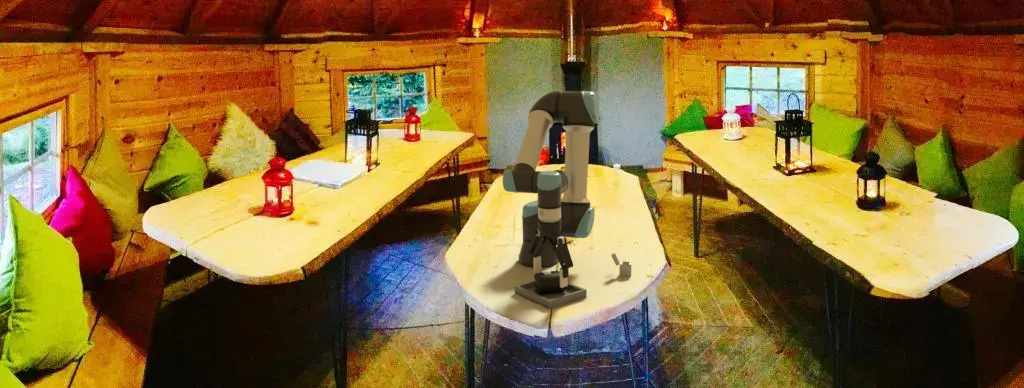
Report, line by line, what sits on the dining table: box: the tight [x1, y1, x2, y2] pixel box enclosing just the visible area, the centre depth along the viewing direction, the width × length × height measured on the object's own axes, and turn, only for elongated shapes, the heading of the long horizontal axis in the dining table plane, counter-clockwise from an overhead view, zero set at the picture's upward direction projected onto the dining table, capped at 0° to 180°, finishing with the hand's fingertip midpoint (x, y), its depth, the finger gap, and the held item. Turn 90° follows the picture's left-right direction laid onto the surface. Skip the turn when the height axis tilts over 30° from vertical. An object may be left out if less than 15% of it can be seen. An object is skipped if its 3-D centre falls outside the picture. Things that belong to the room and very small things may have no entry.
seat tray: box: [514, 279, 588, 310], centre depth 236 cm, size 18×16×3 cm
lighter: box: [610, 252, 632, 277], centre depth 253 cm, size 7×2×8 cm, turn 83°
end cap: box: [533, 270, 568, 295], centre depth 235 cm, size 10×7×7 cm
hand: (550, 280), depth 235 cm, fingers open, 13 cm apart
